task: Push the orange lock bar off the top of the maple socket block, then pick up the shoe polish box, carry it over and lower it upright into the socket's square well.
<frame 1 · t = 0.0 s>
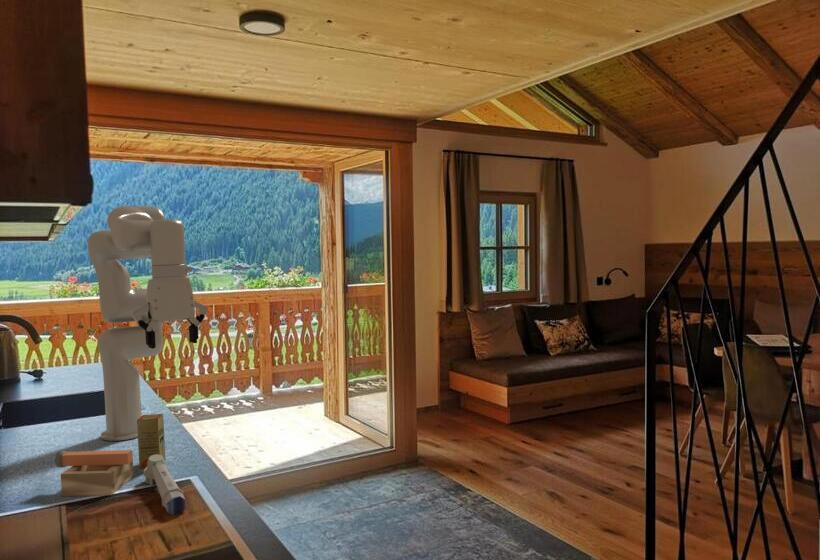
hand: (173, 345, 147), 31 cm above the worktop, tool pointing down, fingers open, 9 cm apart
lock bar: (94, 458, 143), point 7 cm above the worktop, slide at 0.0 cm
socket: (99, 486, 143), on the worktop
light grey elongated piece: (165, 496, 137), on the worktop
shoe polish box: (152, 464, 157), on the worktop
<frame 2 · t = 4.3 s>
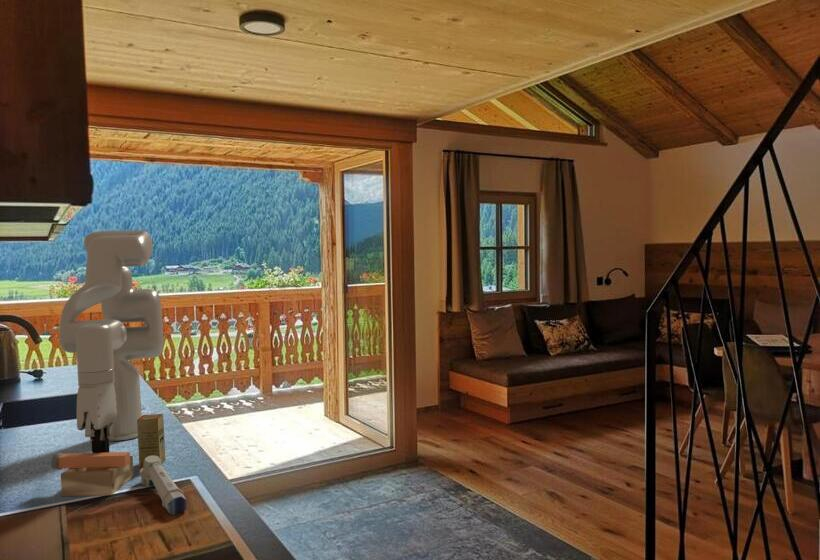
hand: (101, 455, 144), 7 cm above the worktop, tool pointing down, fingers closed
lock bar: (91, 460, 141), point 7 cm above the worktop, slide at 1.4 cm, touching gripper
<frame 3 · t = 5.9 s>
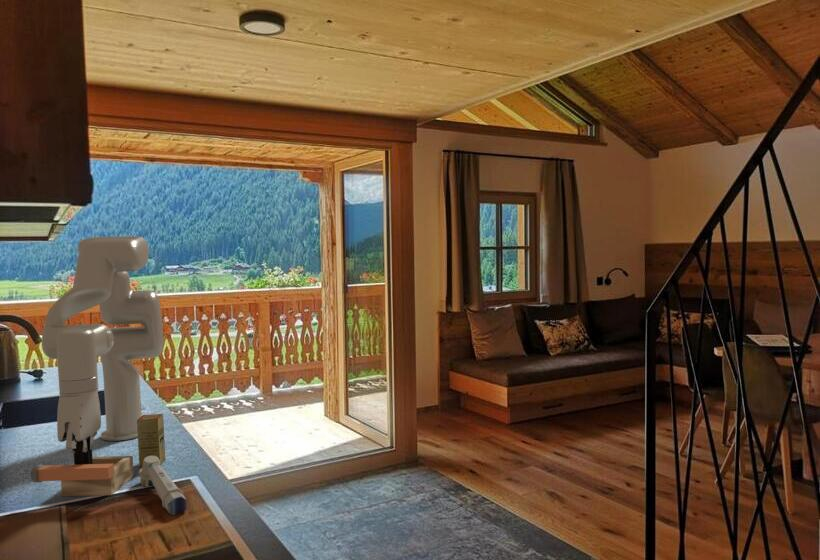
hand: (83, 468, 137), 6 cm above the worktop, tool pointing down, fingers closed
lock bar: (73, 472, 134), point 7 cm above the worktop, slide at 9.0 cm
everything else where it was.
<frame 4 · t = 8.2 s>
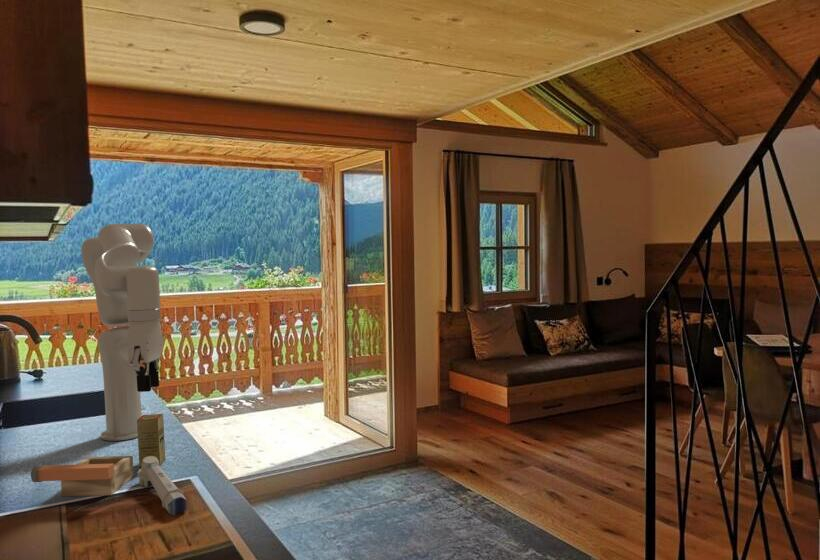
hand: (148, 388, 156), 19 cm above the worktop, tool pointing down, fingers open, 4 cm apart
nothing on the worktop moved.
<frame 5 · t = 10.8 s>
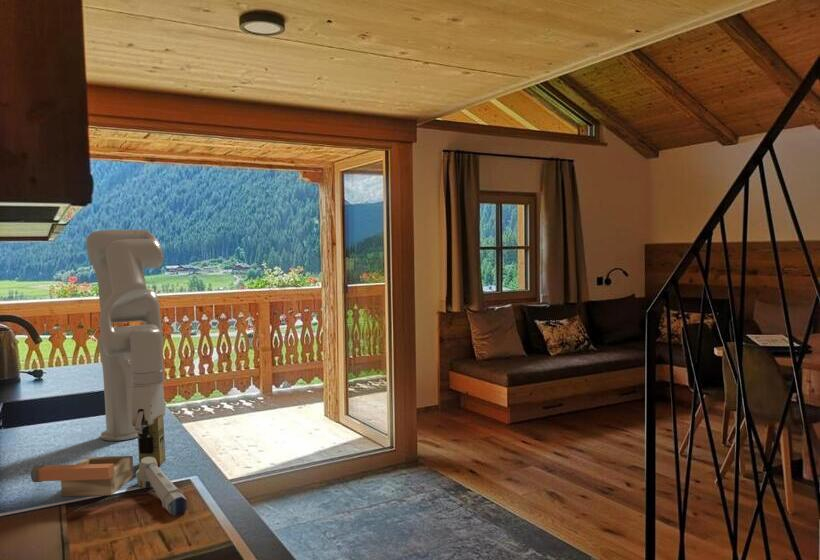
hand: (151, 448, 157), 4 cm above the worktop, tool pointing down, fingers closed on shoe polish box, 5 cm apart
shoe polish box: (152, 464, 157), on the worktop, touching gripper
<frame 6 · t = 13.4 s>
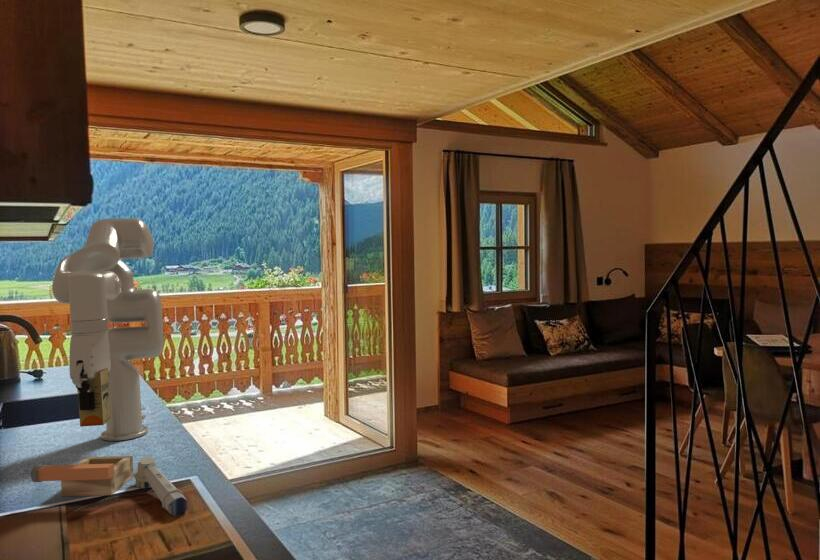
hand: (94, 405, 142), 19 cm above the worktop, tool pointing down, fingers closed on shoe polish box, 5 cm apart
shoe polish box: (95, 423, 142), point 15 cm above the worktop, touching gripper
when the fingers open (6 cm above the worktop, at t = 16.0 s): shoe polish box drops 1 cm, resting on socket.
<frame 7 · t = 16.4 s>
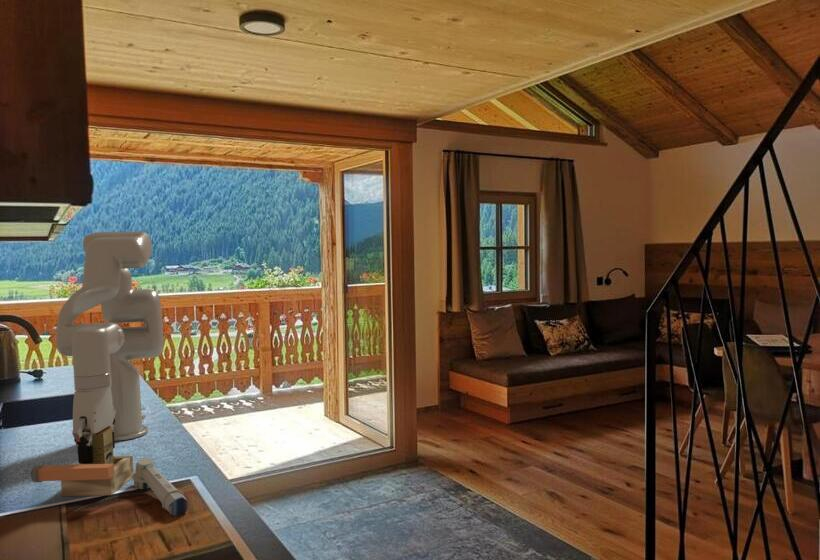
hand: (97, 455, 143), 7 cm above the worktop, tool pointing down, fingers open, 9 cm apart
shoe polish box: (99, 483, 143), point 1 cm above the worktop, touching socket
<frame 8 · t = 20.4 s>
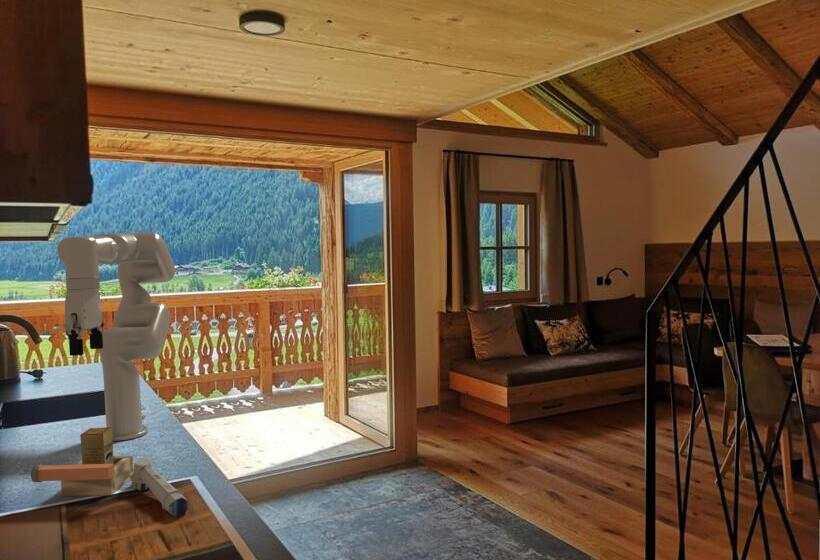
hand: (87, 351, 159), 28 cm above the worktop, tool pointing down, fingers open, 9 cm apart
at the end: lock bar slide at 9.0 cm; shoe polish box 0.2 cm off-centre on the socket, point 0.6 cm above the socket's base; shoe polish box tilted 0° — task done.
